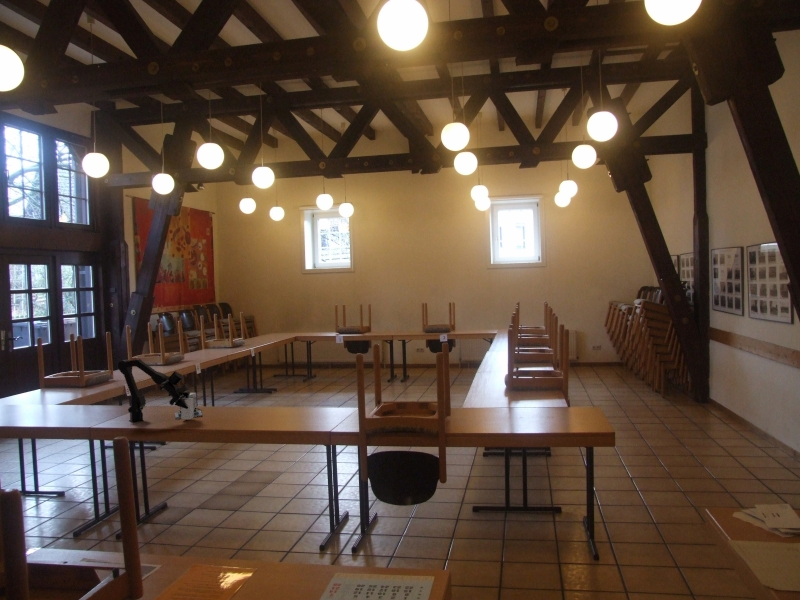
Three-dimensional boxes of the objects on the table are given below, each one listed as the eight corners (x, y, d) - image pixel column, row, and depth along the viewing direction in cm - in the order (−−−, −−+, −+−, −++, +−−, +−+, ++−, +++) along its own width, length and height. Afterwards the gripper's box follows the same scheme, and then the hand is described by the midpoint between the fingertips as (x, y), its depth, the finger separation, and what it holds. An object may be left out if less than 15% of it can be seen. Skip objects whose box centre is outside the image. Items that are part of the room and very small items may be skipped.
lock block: (181, 419, 361) (180, 399, 360) (185, 417, 366) (184, 398, 366) (190, 418, 360) (189, 399, 360) (193, 417, 366) (193, 398, 366)
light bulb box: (188, 411, 391) (188, 395, 391) (179, 411, 393) (179, 395, 393) (197, 408, 402) (196, 392, 402) (188, 407, 403) (187, 392, 403)
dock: (175, 419, 367) (175, 415, 367) (174, 414, 382) (174, 410, 381) (202, 416, 373) (201, 412, 373) (200, 412, 388) (200, 407, 388)
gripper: (173, 383, 354) (191, 401, 353) (186, 378, 372) (204, 395, 372) (161, 396, 354) (179, 414, 354) (175, 390, 373) (192, 407, 372)
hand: (189, 407), depth 363 cm, fingers closed on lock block, 5 cm apart
